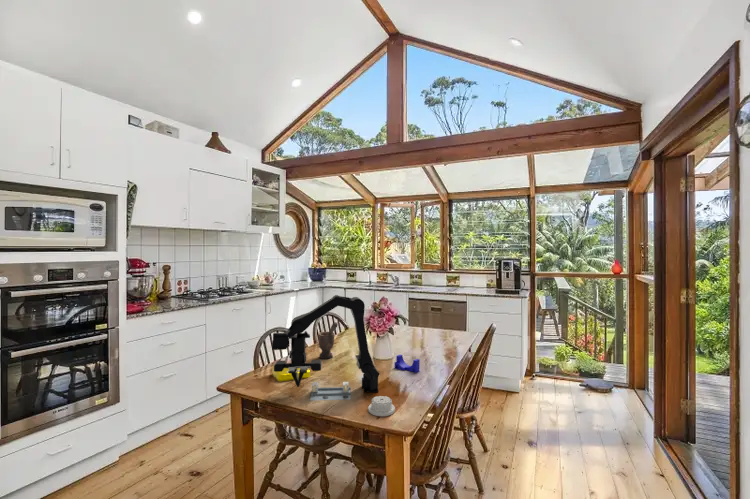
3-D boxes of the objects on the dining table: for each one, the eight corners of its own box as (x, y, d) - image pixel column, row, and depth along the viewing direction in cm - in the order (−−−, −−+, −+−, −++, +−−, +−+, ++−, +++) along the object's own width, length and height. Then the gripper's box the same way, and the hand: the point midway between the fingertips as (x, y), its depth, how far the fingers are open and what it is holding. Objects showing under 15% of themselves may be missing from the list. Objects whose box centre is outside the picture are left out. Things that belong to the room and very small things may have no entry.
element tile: (278, 385, 167) (278, 374, 167) (272, 374, 180) (272, 364, 180) (311, 380, 173) (311, 369, 173) (302, 370, 187) (303, 360, 187)
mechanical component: (400, 410, 142) (379, 403, 149) (400, 398, 142) (379, 391, 149) (383, 419, 135) (362, 411, 141) (383, 407, 135) (362, 400, 141)
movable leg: (318, 390, 157) (318, 382, 157) (317, 398, 149) (317, 389, 149) (312, 390, 157) (312, 382, 157) (310, 398, 149) (310, 389, 149)
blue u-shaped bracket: (394, 368, 190) (394, 356, 190) (400, 366, 193) (400, 354, 193) (414, 373, 182) (414, 361, 182) (419, 371, 185) (419, 359, 185)
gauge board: (350, 390, 161) (350, 379, 161) (350, 401, 149) (350, 390, 149) (312, 390, 160) (312, 380, 160) (309, 402, 148) (309, 391, 148)
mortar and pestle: (341, 356, 209) (341, 320, 208) (336, 360, 200) (336, 323, 200) (321, 354, 212) (322, 318, 211) (315, 359, 203) (316, 322, 203)
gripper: (322, 343, 163) (322, 378, 164) (278, 343, 162) (278, 379, 162) (320, 350, 152) (320, 388, 152) (273, 351, 151) (273, 389, 151)
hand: (298, 386), depth 155 cm, fingers closed
